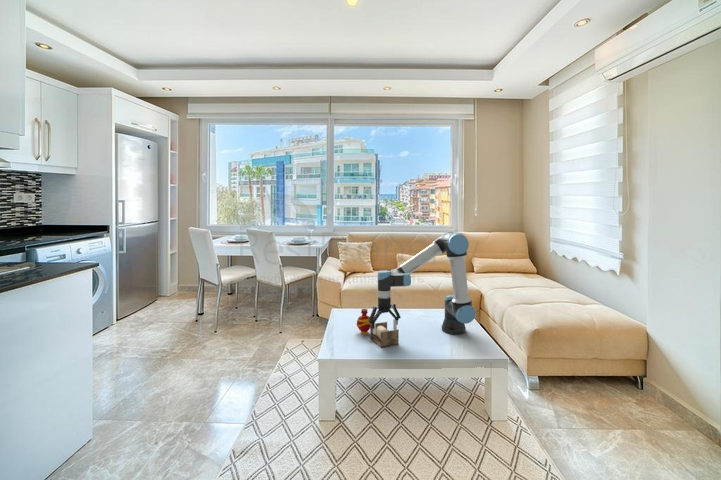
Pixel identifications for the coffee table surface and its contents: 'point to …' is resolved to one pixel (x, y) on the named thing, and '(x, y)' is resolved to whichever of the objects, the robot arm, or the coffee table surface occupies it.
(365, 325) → the potion bottle
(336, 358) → the coffee table surface
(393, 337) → the holder
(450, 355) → the coffee table surface
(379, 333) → the roll
